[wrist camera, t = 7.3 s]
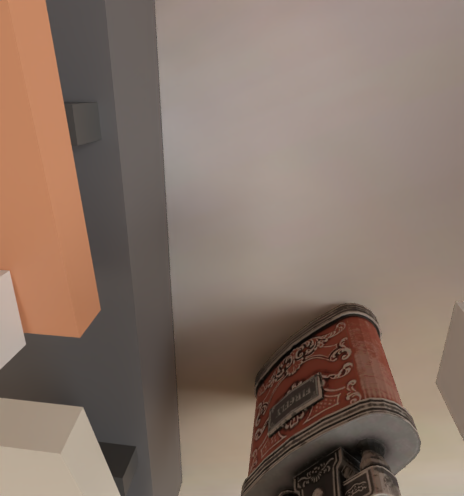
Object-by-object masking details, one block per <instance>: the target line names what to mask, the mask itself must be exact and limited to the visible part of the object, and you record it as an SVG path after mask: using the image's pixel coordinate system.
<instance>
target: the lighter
mask: <svg viewBox="0 0 464 496" xmlns="http://www.w3.org/2000/svg"><path fill="white" fill-rule="evenodd" d="M381 335H382V333H381V330H380V327H379V324H378V322H377V319H376V317H375V315H374V314H373V313H372V312H371V311H370V310H369V309H367V308H366V307H364V306H362V305H358V304H355V303H351V304H344V305H341V306H338V307H336V308H335V309H333V310H331V311H329V312H328V313H326V314H324V315H322V316H321V317H319V318H317V319H315V320H314V321H312V322H311V323H309V324H308V325H307V326H305V327H304V328H302V329H301V330H300V331H298V332H297V333H296V334H294V335H293V336H291V337H290V338H289V339H288V340H287V341H286V342H285V343H284V344H283V345H282V346H281V347H280V348H279V349H278V350H277V351H276V352H275V353H274V354H273V355H272V356H271V357H270V359H269V360H268V361H267V362H266V364H265V365H264V366H263V368H262V369H261V370H260V371H259V373H258V374H257V377H256V380H255V388H254V392H255V397H256V399H257V401H256V410H255V419H254V428H253V436H252V445H251V454H250V463H249V472H248V477H247V478H246V479H245V481H244V483H243V485H242V492H241V496H401V494H400V490H399V486H398V482H397V479H396V477H395V475H396V474H397V473H398V472H399V471H401V470H402V469H403V468H404V467H405V466H406V465H407V464H409V463H410V462H411V461H412V460H413V459H414V458H415V457H416V456H417V454H418V453H419V451H420V445H421V441H420V438H419V435H418V432H417V429H416V427H415V424H414V421H413V418H412V416H411V415H410V414H409V412H408V411H407V410H406V409H405V408H404V407H403V405H402V402H401V399H400V397H399V394H398V391H397V388H396V385H395V382H394V379H393V376H392V373H391V370H390V368H389V365H388V362H387V359H386V356H385V353H384V350H383V347H382V344H381Z"/></svg>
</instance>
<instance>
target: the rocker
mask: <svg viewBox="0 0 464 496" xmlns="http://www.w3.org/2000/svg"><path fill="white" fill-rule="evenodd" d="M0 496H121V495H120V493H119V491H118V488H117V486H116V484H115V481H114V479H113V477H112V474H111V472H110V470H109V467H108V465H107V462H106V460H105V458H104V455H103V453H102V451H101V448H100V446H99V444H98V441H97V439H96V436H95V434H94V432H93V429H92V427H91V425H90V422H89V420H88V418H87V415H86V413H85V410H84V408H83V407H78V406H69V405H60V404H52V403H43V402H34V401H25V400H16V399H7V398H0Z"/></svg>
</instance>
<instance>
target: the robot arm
mask: <svg viewBox="0 0 464 496" xmlns="http://www.w3.org/2000/svg"><path fill="white" fill-rule="evenodd" d="M25 345H26V342H25V337H24V333H23V328H22V324H21V319H20V315H19V311H18V306H17V302H16V297H15V293H14V288H13V284H12V279H11V275H10V271H9V270H0V369H1V368H2V367H3V366H4V365H5V364H6V363H8V362H9V361H10V360H11V359H12V358H13V357H14V356H15V355H16V354H17V353H18V352H19V351H20V350H21V349H22V348H23V347H24V346H25ZM436 385H437V387H438V389H439V391H440V393H441V395H442V397H443V399H444V401H445V403H446V405H447V407H448V409H449V411H450V414H451V416H452V418H453V420H454V422H455V424H456V426H457V428H458V430H459V432H460V434H461V436H462V438H463V440H464V302H459V301H455V305H454V309H453V314H452V318H451V322H450V326H449V330H448V334H447V338H446V342H445V346H444V350H443V355H442V359H441V363H440V367H439V371H438V375H437V379H436Z"/></svg>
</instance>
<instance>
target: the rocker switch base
mask: <svg viewBox="0 0 464 496" xmlns="http://www.w3.org/2000/svg"><path fill="white" fill-rule="evenodd" d="M45 1H46V6H47V12H48V17H49V23H50V28H51V34H52V40H53V45H54V51H55V56H56V62H57V68H58V73H59V79H60V84H61V90H62V95H63V101H64V107H65V112H66V118H67V123H68V129H69V135H70V140H71V146H72V151H73V157H74V162H75V168H76V174H77V179H78V185H79V190H80V196H81V201H82V207H83V213H84V218H85V224H86V229H87V235H88V241H89V246H90V252H91V257H92V263H93V268H94V274H95V280H96V285H97V291H98V296H99V302H100V308H101V310H100V312H99V313H98V314H97V316H96V317H95V318H94V320H93V321H92V322H91V324H90V325H89V326H88V328H87V329H86V330H85V332H84V333H83V334H82V336H81V337H80V338H77V337H65V336H54V335H43V334H32V333H24V337H25V342H26V345H25V346H24V347H23V348H22V349H21V350H20V351H19V352H18V353H17V354H16V355H15V356H14V357H13V358H12V359H11V360H10V361H9V362H8V363H6V364H5V365H4V366H3V367H2V368H1V369H0V398H7V399H16V400H25V401H34V402H43V403H52V404H60V405H69V406H78V407H83V408H84V410H85V413H86V415H87V418H88V420H89V422H90V425H91V427H92V429H93V432H94V434H95V436H96V439H97V441H98V444H99V446H100V448H101V451H102V453H103V455H104V458H105V460H106V462H107V465H108V467H109V470H110V472H111V474H112V477H113V479H114V481H115V484H116V486H117V488H118V491H119V493H120V495H121V496H178V494H179V491H180V487H181V484H182V470H181V452H180V435H179V418H178V400H177V383H176V366H175V348H174V331H173V314H172V296H171V279H170V262H169V244H168V227H167V210H166V192H165V175H164V158H163V140H162V123H161V106H160V88H159V71H158V54H157V36H156V19H155V2H154V0H45Z"/></svg>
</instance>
